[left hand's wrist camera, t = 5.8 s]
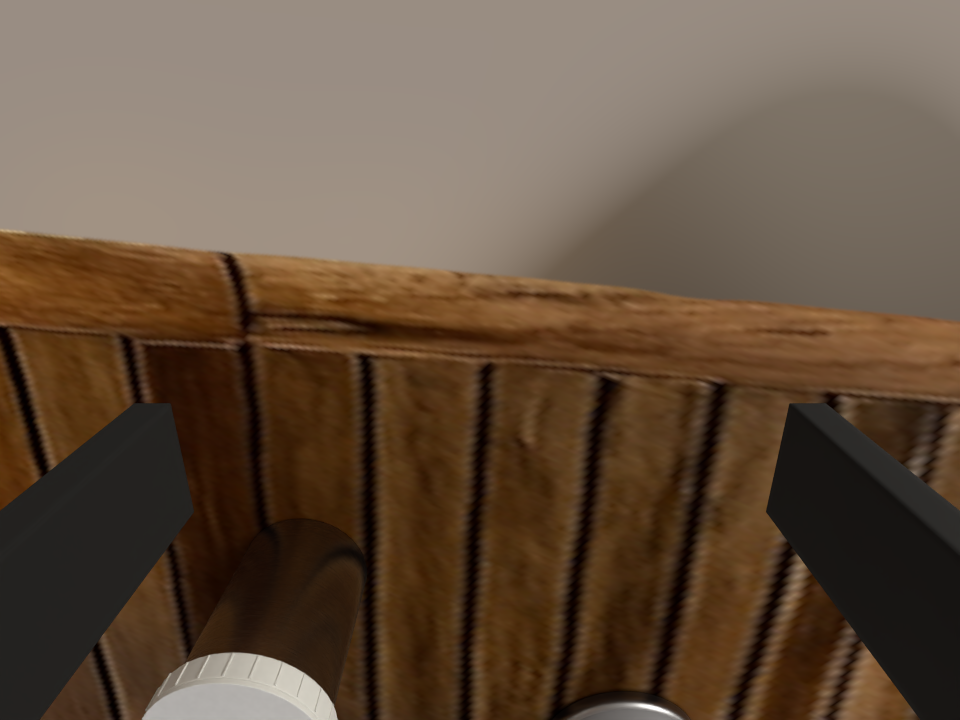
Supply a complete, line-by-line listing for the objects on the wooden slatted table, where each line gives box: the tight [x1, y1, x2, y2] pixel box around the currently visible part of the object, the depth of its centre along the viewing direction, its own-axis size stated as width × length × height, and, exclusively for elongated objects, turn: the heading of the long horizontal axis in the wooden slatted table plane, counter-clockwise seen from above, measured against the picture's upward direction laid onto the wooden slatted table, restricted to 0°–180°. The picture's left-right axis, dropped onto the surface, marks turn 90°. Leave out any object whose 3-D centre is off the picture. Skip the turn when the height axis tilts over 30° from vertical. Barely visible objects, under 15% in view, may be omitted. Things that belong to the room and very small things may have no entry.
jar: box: [185, 519, 367, 705], centre depth 42 cm, size 10×10×15 cm
